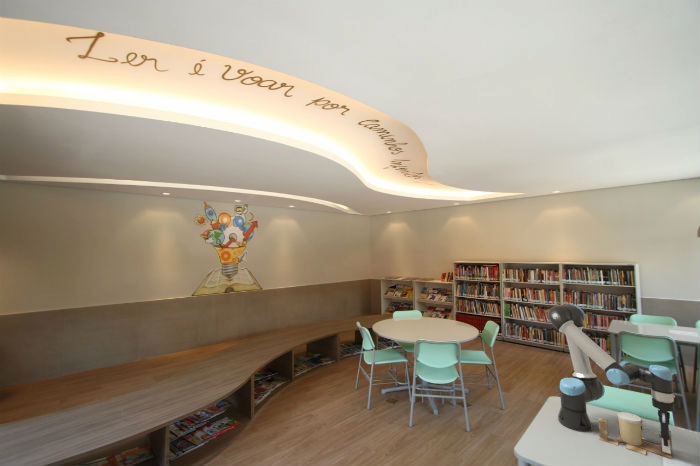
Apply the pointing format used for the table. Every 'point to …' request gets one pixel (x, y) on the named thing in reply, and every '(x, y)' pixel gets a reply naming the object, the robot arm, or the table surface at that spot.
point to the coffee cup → (630, 428)
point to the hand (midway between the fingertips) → (666, 450)
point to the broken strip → (604, 437)
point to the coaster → (651, 436)
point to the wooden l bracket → (652, 446)
